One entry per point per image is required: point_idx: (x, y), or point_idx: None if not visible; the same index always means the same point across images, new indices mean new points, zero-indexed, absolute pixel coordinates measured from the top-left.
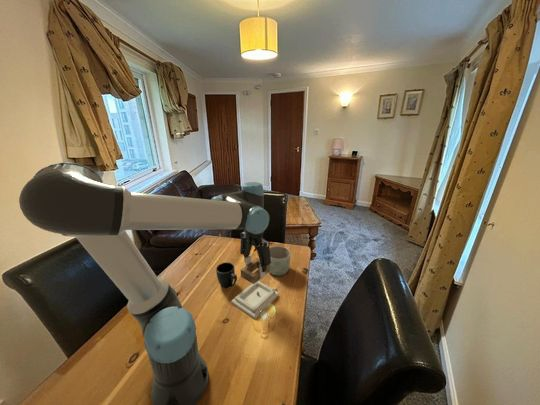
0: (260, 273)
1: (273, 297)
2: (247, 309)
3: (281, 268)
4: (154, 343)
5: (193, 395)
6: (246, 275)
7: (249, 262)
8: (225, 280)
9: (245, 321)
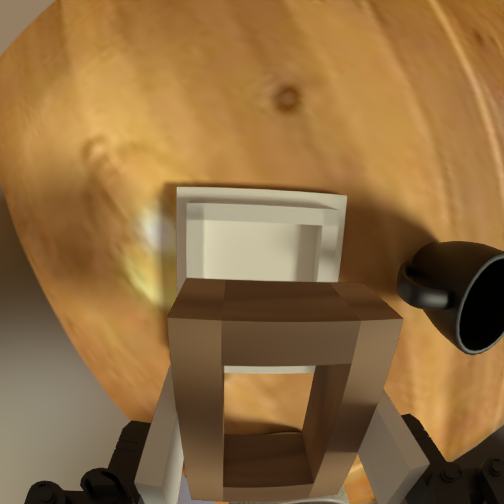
0: (167, 401)
1: None
2: (235, 198)
3: None
4: None
5: None
6: (296, 304)
7: (368, 444)
8: (446, 256)
9: (205, 148)
